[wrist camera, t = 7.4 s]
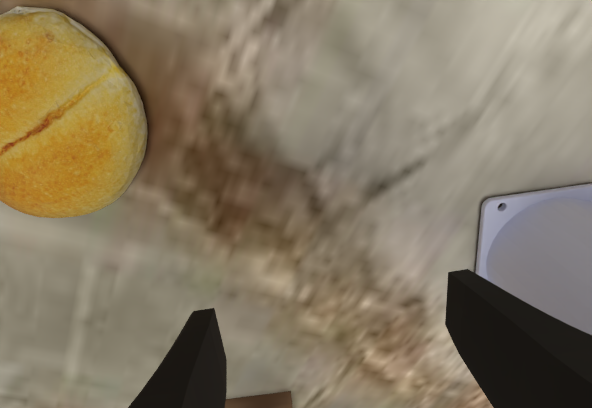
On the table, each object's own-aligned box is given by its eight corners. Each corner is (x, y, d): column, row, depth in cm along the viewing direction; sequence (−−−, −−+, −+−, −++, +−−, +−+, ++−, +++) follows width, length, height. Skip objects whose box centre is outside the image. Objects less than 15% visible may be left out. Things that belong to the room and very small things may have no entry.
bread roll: (51, 226, 22) (11, 269, 18) (-86, 66, 18) (-170, 79, 15) (188, 158, 21) (175, 187, 17) (73, -25, 17) (27, -35, 14)
